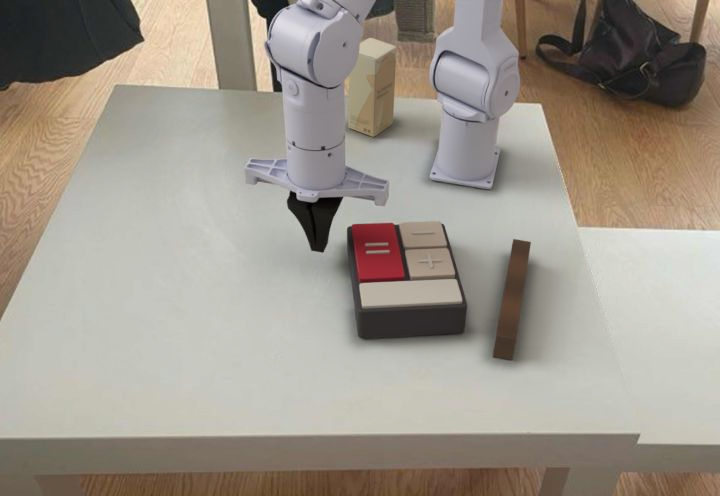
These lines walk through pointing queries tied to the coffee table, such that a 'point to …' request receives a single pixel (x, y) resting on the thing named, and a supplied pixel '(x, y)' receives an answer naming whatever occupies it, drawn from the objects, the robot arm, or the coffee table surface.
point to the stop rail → (512, 300)
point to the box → (372, 88)
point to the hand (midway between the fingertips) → (319, 246)
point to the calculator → (404, 280)
